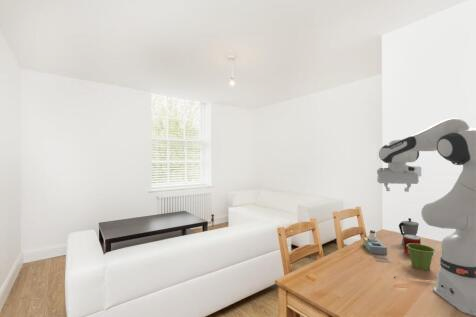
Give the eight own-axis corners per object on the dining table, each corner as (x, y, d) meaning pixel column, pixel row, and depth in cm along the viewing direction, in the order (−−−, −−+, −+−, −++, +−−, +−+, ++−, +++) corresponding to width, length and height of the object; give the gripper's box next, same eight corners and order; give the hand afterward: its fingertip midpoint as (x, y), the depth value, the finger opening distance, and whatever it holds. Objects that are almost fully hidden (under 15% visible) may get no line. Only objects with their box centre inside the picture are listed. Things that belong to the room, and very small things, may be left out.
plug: (376, 247, 147) (376, 232, 147) (370, 247, 148) (370, 231, 148) (374, 245, 150) (374, 230, 150) (368, 245, 151) (368, 229, 151)
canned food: (424, 257, 134) (423, 238, 134) (410, 257, 134) (410, 238, 134) (414, 252, 142) (414, 234, 142) (401, 252, 142) (401, 234, 142)
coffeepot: (411, 241, 159) (410, 216, 159) (425, 246, 150) (424, 219, 150) (393, 243, 156) (392, 217, 156) (406, 248, 147) (405, 221, 147)
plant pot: (441, 275, 114) (440, 252, 114) (414, 273, 116) (414, 250, 116) (426, 264, 125) (426, 243, 125) (402, 262, 127) (402, 242, 128)
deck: (390, 264, 125) (390, 262, 125) (376, 263, 127) (376, 261, 127) (384, 257, 135) (384, 255, 135) (371, 255, 136) (371, 254, 136)
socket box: (386, 256, 136) (386, 247, 136) (369, 254, 138) (369, 245, 138) (378, 246, 151) (377, 238, 152) (362, 245, 154) (362, 237, 154)
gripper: (379, 167, 134) (379, 191, 134) (419, 168, 128) (420, 192, 128) (375, 167, 140) (375, 190, 140) (414, 167, 134) (414, 191, 134)
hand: (397, 191), depth 134 cm, fingers open, 8 cm apart
